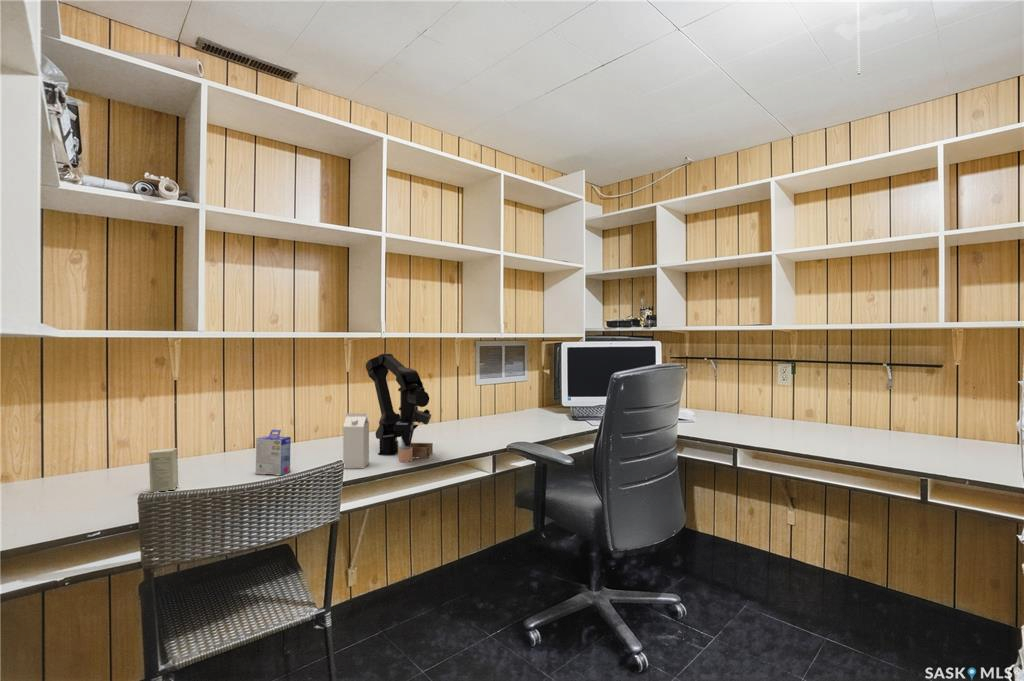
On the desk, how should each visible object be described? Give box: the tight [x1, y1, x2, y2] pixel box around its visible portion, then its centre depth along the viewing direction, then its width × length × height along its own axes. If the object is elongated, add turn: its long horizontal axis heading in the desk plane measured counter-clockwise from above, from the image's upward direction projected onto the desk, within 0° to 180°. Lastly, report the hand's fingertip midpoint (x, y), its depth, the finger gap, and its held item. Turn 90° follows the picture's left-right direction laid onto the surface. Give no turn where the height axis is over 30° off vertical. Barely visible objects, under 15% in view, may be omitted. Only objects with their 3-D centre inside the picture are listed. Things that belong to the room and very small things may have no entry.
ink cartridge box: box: [255, 429, 291, 476], centre depth 170 cm, size 10×6×14 cm, turn 80°
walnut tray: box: [408, 442, 433, 459], centre depth 195 cm, size 10×8×4 cm
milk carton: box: [342, 412, 370, 469], centre depth 179 cm, size 7×7×19 cm
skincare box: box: [148, 447, 179, 493], centre depth 151 cm, size 6×4×12 cm
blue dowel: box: [400, 437, 408, 449], centre depth 187 cm, size 4×2×8 cm
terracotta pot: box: [397, 446, 414, 463], centre depth 187 cm, size 5×5×5 cm
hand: (408, 445), depth 187 cm, fingers closed on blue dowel, 2 cm apart
